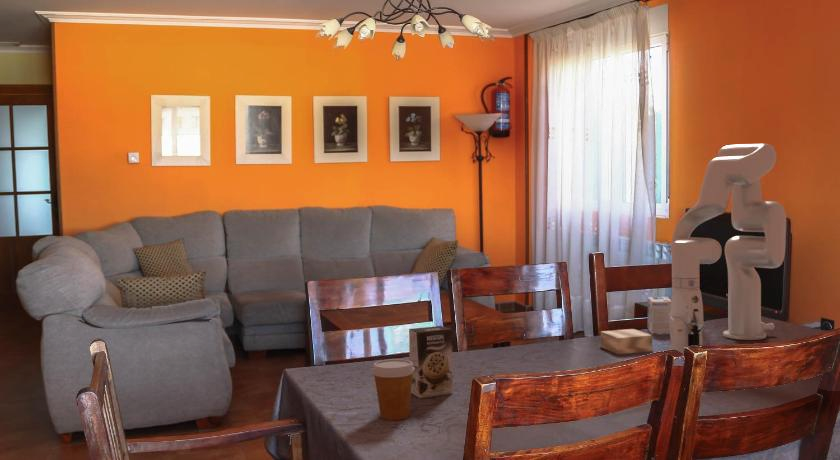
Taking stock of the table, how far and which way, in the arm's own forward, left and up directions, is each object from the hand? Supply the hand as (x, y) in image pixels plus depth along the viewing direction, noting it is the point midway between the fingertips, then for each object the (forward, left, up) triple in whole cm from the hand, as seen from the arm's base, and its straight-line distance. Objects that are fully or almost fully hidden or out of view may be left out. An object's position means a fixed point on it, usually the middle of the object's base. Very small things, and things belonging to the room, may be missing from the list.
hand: (686, 344), depth 242 cm
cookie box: (+80, +15, -3) cm, 81 cm away
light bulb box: (-11, -33, -3) cm, 35 cm away
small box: (0, 0, -3) cm, 3 cm away
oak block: (+12, -13, -3) cm, 18 cm away
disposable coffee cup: (+93, +31, -3) cm, 98 cm away
